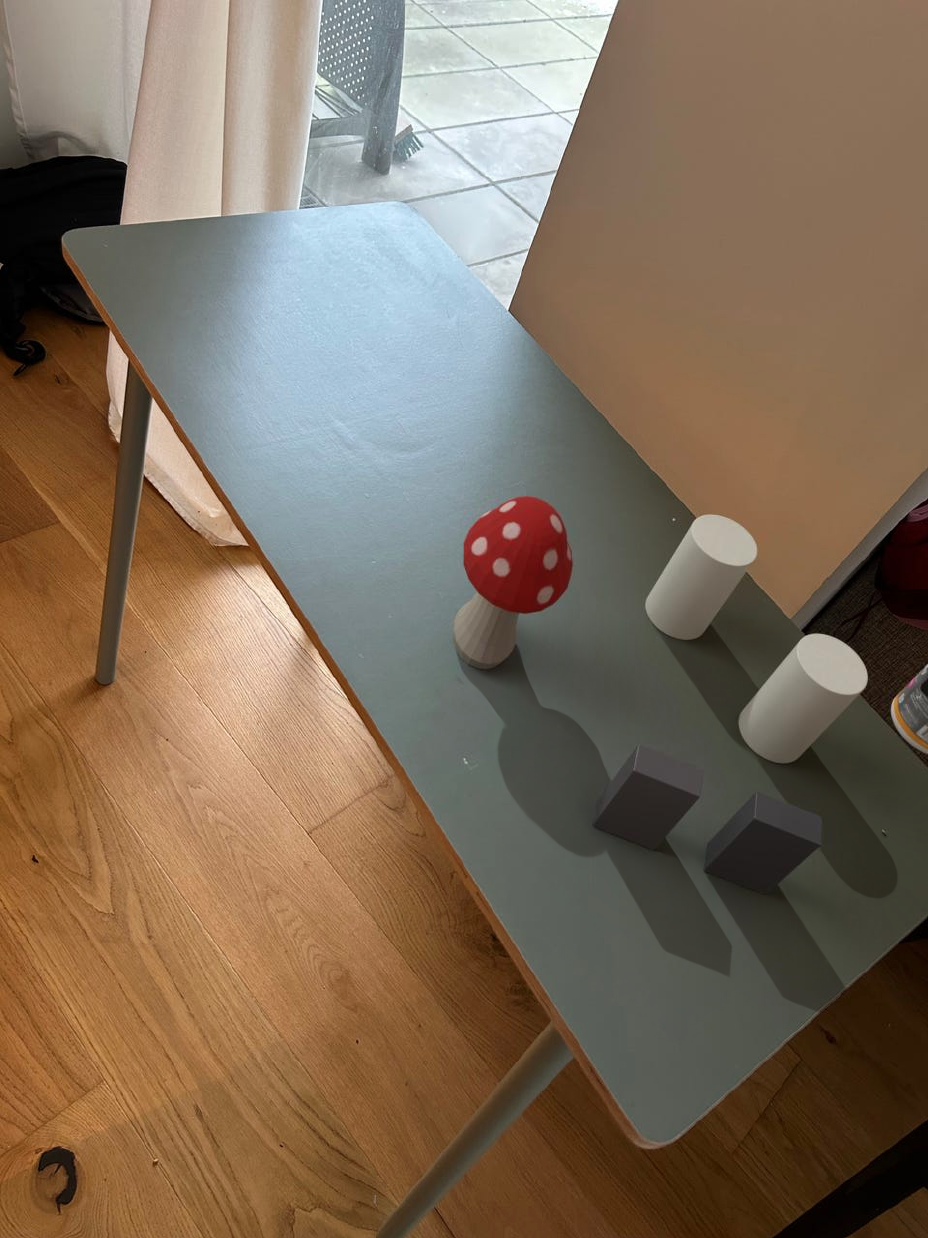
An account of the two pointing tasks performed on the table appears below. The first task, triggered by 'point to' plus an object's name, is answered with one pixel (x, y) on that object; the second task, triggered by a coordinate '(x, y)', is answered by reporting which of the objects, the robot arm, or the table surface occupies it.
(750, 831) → the dark grey block
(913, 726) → the pill bottle
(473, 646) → the decorative mushroom
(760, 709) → the white cylinder
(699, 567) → the white cylinder
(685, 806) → the dark grey rectangular block
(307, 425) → the table surface
